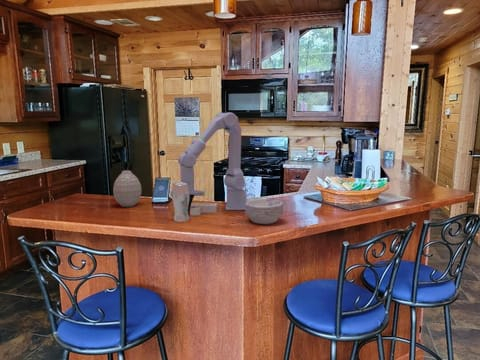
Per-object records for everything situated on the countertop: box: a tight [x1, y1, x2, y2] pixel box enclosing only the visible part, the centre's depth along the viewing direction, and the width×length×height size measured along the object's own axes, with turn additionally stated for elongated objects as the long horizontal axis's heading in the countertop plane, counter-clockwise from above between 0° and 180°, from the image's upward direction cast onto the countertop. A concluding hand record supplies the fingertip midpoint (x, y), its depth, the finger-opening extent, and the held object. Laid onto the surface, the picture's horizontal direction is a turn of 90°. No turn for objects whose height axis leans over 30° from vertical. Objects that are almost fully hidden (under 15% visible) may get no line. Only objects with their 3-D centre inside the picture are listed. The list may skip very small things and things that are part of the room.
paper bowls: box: [244, 198, 284, 225], centre depth 149 cm, size 15×15×8 cm
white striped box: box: [188, 202, 218, 214], centre depth 166 cm, size 13×6×3 cm, turn 91°
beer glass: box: [171, 182, 190, 223], centre depth 150 cm, size 7×7×15 cm
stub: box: [189, 206, 202, 217], centre depth 160 cm, size 4×5×3 cm
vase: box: [112, 170, 142, 208], centre depth 176 cm, size 13×13×17 cm
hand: (188, 212), depth 160 cm, fingers closed
